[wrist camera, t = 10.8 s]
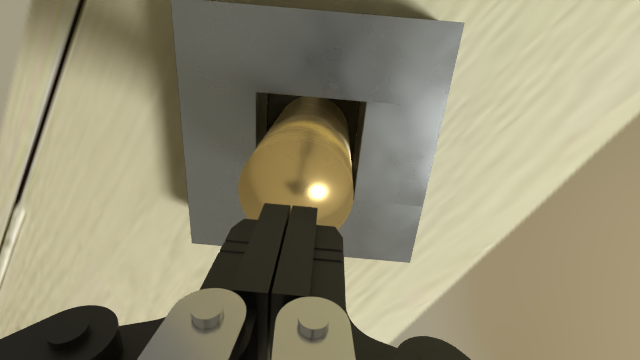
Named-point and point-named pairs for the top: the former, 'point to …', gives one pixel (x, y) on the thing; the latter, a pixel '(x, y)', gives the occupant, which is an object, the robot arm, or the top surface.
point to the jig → (313, 81)
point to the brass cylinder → (302, 163)
